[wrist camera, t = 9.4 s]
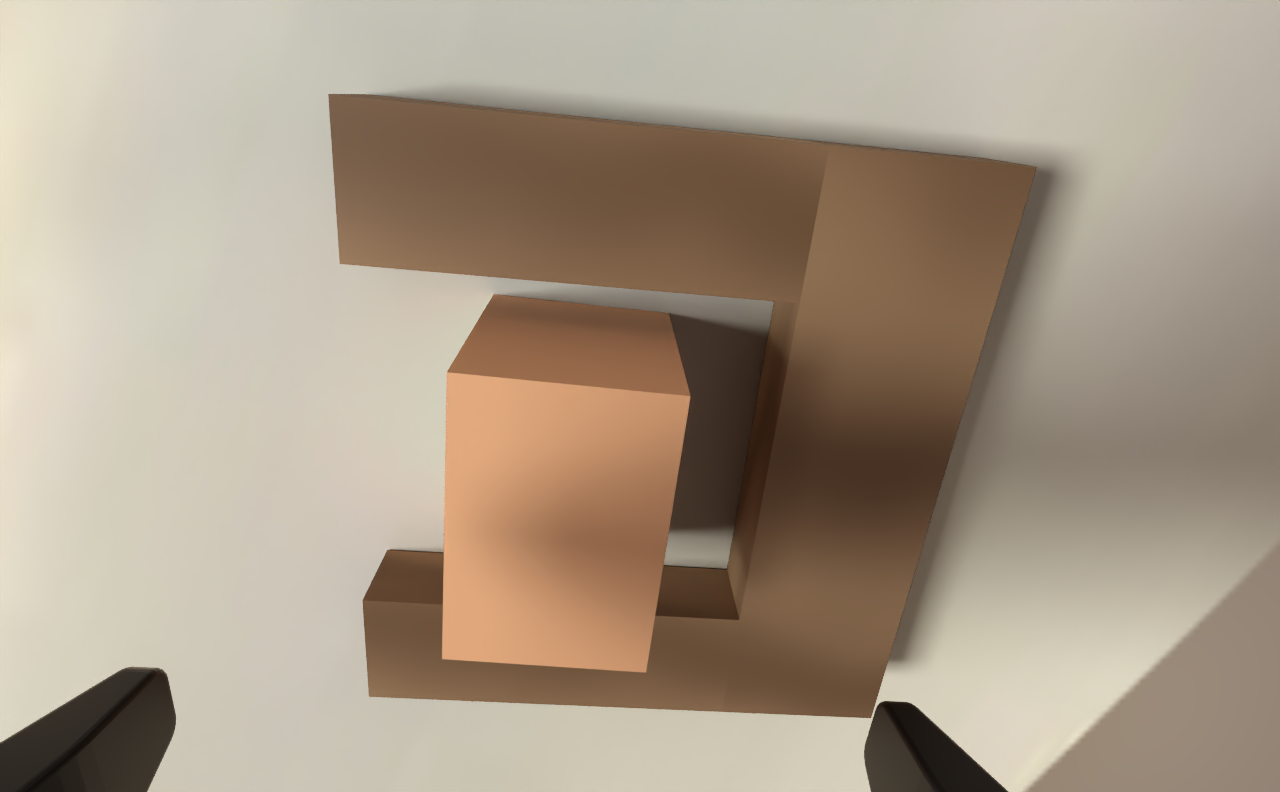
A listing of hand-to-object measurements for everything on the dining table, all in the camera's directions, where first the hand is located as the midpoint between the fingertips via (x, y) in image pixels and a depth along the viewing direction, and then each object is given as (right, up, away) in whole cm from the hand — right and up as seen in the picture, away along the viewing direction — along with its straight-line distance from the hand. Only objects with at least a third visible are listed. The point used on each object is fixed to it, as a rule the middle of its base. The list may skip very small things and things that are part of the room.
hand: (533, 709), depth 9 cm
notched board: (+2, +3, +8) cm, 9 cm away
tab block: (0, +3, +8) cm, 9 cm away
